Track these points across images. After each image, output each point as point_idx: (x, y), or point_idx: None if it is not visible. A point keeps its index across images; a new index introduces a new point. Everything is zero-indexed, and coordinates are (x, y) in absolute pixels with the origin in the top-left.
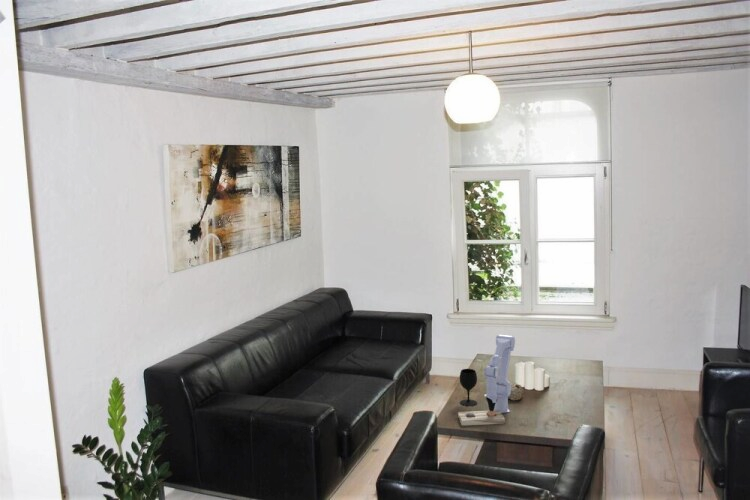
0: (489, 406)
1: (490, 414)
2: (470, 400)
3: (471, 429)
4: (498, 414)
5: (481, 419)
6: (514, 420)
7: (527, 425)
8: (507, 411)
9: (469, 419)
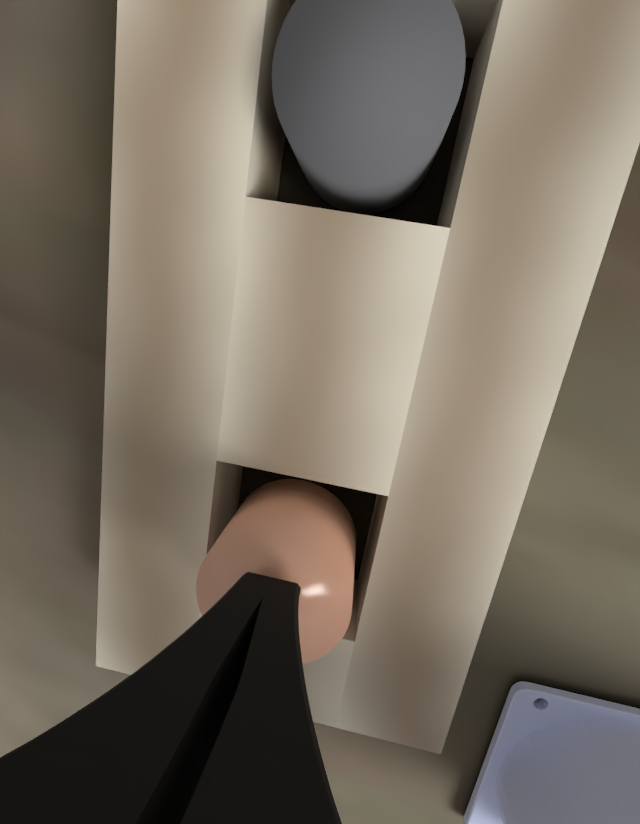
0: (159, 653)
1: (226, 528)
2: None
3: (10, 33)
4: None
5: (110, 279)
6: None
7: None
8: (478, 814)
9: None
